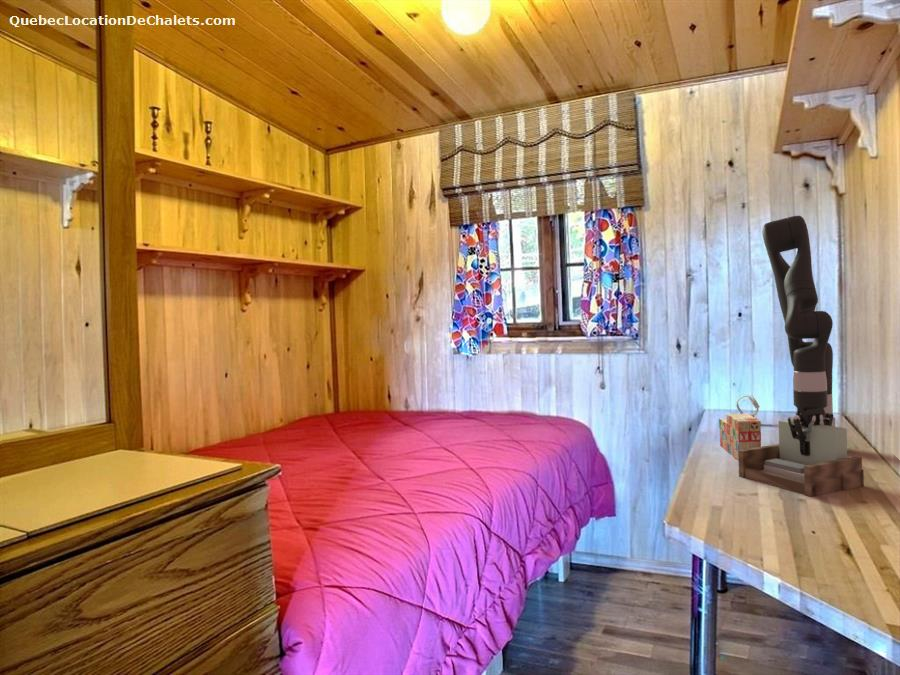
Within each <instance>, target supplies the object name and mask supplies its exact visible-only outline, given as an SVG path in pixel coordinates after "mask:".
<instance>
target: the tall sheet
mask: <svg viewBox="0 0 900 675" xmlns="http://www.w3.org/2000/svg"><path fill="white" fill-rule="evenodd" d="M801 427H802V428H803V429H808V428H806V427H803V426H802V425H801ZM811 427H812V428H811V429H812V432H811V433H810V440H809V442H810V456H804V455H801V453H800V441H799V440H798V439H794V438H793V437H792V433H791V430H790V426H789V423H788V419H782V420H778V444H779V453H780V459H783V460H788V461H792V462H796V463H800V464H805V465H812V464H817V463H823V462H828V461H834V460H840V459H845V458H848V437H847V431H848V430H847V428H845V427H839V426H835V427H834V426H827V425H814V426H811ZM797 434H798V432H797ZM803 434H804V436H805V432H803Z"/></svg>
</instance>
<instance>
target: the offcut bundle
mask: <svg viewBox="0 0 900 675" xmlns="http://www.w3.org/2000/svg"><path fill="white" fill-rule="evenodd" d="M804 466H806V465H804V464H799V463H794V462H790V461H785V460H781V459H771V460H766V461H765V465H764V470H762V471H765V472H769V473H773V474H777V475H781V476H784V477H788V478H792V479H796V480H800V481H803V482H804Z"/></svg>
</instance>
